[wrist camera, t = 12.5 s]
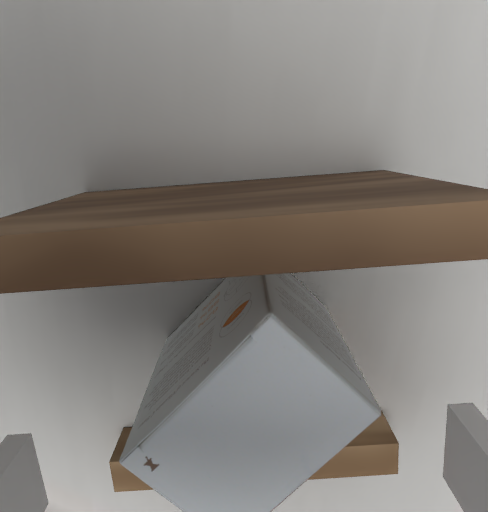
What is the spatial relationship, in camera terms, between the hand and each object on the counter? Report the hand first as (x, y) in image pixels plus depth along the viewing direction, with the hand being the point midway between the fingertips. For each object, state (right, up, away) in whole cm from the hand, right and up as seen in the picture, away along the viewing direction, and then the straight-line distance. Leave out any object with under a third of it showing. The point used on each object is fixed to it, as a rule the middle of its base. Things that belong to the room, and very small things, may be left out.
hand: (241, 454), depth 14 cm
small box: (0, +2, +12) cm, 12 cm away
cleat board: (0, +2, +11) cm, 12 cm away
